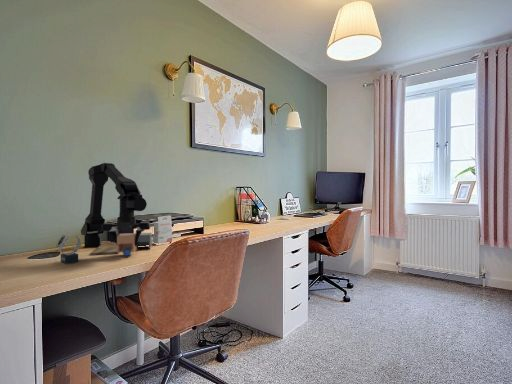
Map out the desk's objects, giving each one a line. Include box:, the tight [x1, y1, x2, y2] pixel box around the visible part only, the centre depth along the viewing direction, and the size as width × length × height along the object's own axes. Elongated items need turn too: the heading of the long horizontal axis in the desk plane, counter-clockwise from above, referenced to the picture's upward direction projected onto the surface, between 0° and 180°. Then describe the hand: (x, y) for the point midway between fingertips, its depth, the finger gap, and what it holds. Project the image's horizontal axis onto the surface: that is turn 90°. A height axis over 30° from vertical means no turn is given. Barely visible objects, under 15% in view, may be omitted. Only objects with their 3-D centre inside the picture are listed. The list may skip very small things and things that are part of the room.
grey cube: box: [136, 232, 153, 250], centre depth 139 cm, size 7×7×7 cm
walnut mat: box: [89, 246, 119, 256], centre depth 131 cm, size 11×11×1 cm
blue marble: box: [122, 248, 132, 257], centre depth 124 cm, size 3×3×3 cm
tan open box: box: [116, 232, 137, 254], centre depth 124 cm, size 7×7×7 cm
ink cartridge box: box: [152, 215, 173, 244], centre depth 150 cm, size 9×5×15 cm, turn 143°
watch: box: [56, 233, 82, 265], centre depth 113 cm, size 6×8×11 cm
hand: (126, 246), depth 124 cm, fingers closed on tan open box, 7 cm apart
